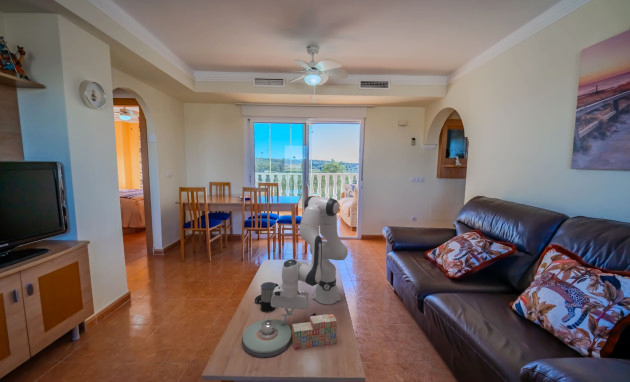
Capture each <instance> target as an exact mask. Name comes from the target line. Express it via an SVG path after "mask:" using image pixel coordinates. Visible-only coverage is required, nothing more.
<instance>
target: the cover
mask: <svg viewBox="0 0 630 382" xmlns="http://www.w3.org/2000/svg"><path fill="white" fill-rule="evenodd" d="M276 335H277V329H276V328H275V323H274V321H272V320H266V321H264V322H263V323H262V328H261V329H260V330H259V337H260V338H261V339H264V340H270V339H273V338H274V337H276Z"/></svg>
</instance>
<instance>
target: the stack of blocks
mask: <svg viewBox="0 0 630 382" xmlns="http://www.w3.org/2000/svg"><path fill="white" fill-rule="evenodd" d="M317 315H318V316H311V315H310V316H309V321H308V322H299V323H298V322H297V323H292V325H291V326H292V328H291V332H292V343H291V344H292V346H293V350H298V349H305V348H314V347H319V346H327V345H333V344H334V345H336V344H337V329H338V328H337V327H338V326H337V322H338V321H337V319H336V317H335V314H333V313H330V314H327V313H326V314H317ZM335 343H336V344H335Z"/></svg>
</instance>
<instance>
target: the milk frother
mask: <svg viewBox="0 0 630 382" xmlns="http://www.w3.org/2000/svg"><path fill="white" fill-rule="evenodd" d="M276 286H280V285H279V284H278V283H275V282H272V281H267V282H263V283H261V285H260V293H261V294H259V295H257V296H256V297H255V298H254V303H255V304H258V305H260V311H261V312H263V313H271V312H273V311H275V310H276V308H277V307H272V306H271V298H272V295H273V291H274V289H275V287H276Z"/></svg>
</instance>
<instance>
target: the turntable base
mask: <svg viewBox="0 0 630 382" xmlns="http://www.w3.org/2000/svg"><path fill="white" fill-rule="evenodd" d="M292 344H293V343H292V331H291V339H290V341H289V343H288V344H287V345H286V346H285V347H284V348H282V349H280V350H278V351H276V352H272V353H256V352H253V351H250V350H249V349H247V348H246V347H245V345H244V343H243V336H242V337H241V347H242V349H243V351H244V352H245V353H246V354H247V355H249V356H251V357H255V358H259V359H267V358H274V357H276V356H279V355H281V354H283V353H285V352H286V351H287V350H288V349H289V348H290V346H291V345H292Z"/></svg>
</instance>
